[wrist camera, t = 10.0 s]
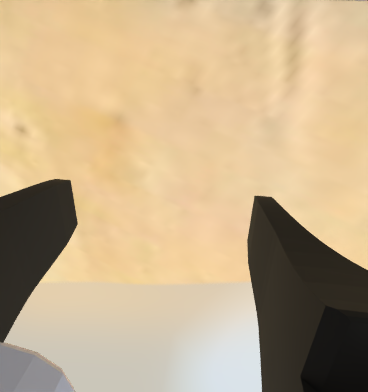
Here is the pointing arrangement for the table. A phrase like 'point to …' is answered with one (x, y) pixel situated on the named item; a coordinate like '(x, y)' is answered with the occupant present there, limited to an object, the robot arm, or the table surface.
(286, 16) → the table surface
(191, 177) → the table surface
